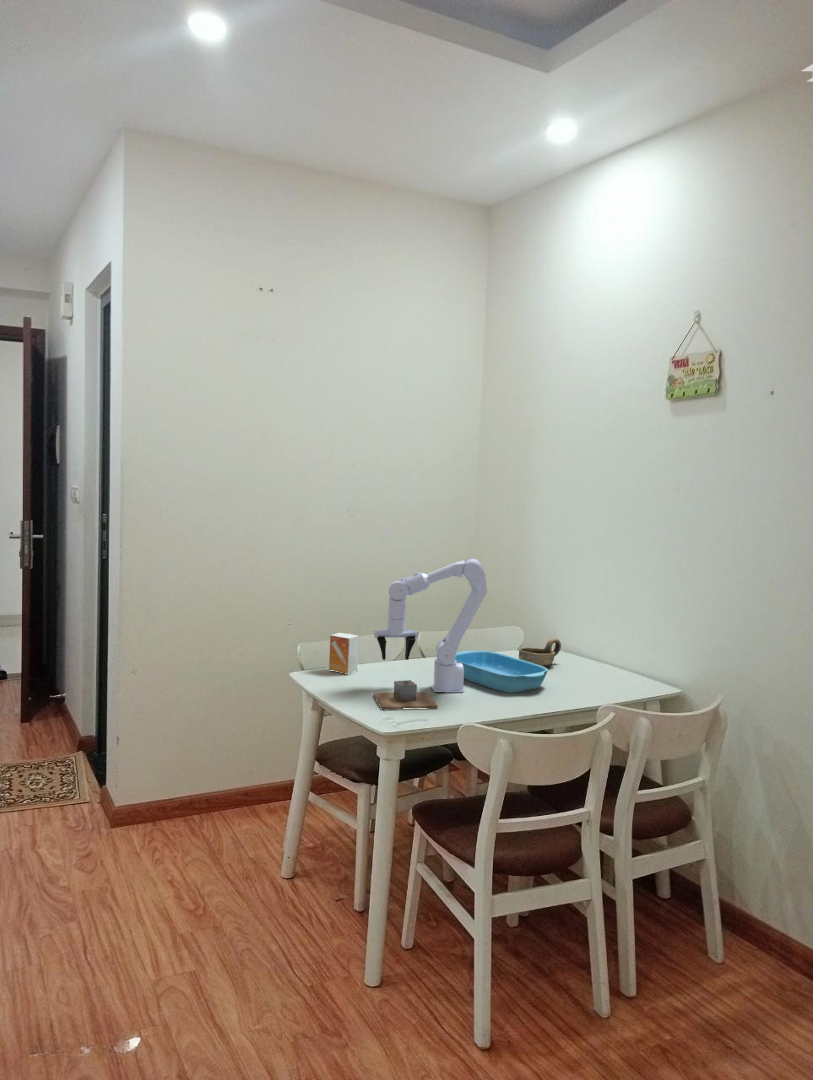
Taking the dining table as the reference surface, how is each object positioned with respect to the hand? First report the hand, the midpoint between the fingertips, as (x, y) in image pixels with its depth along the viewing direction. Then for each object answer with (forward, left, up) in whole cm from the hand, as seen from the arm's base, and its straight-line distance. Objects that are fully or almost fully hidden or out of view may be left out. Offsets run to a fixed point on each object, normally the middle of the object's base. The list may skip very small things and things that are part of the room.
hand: (395, 659), depth 265 cm
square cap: (0, +17, -8) cm, 19 cm away
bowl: (-61, -26, -10) cm, 67 cm away
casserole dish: (-37, -5, -10) cm, 39 cm away
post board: (0, +17, -9) cm, 19 cm away
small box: (+14, -21, -10) cm, 27 cm away
